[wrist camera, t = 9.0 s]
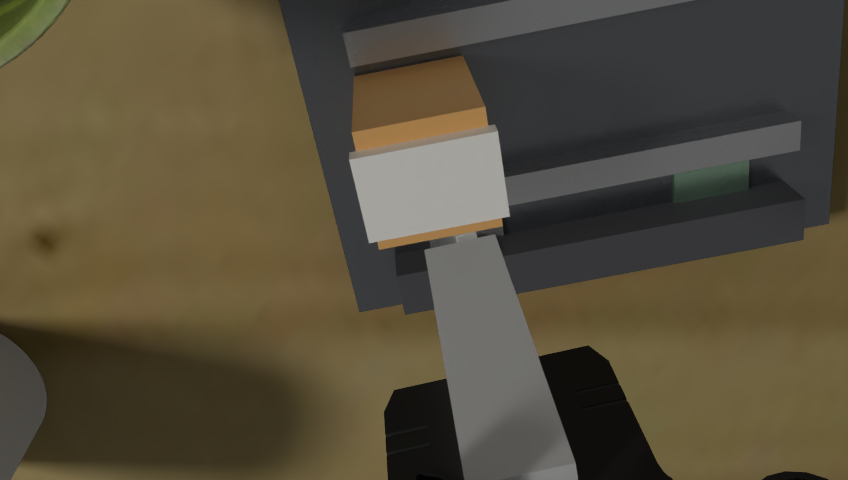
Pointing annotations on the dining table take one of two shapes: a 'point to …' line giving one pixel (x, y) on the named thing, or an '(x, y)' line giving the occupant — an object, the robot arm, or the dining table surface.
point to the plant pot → (25, 24)
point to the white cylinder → (18, 405)
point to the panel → (589, 101)
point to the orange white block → (425, 154)
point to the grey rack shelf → (629, 241)
